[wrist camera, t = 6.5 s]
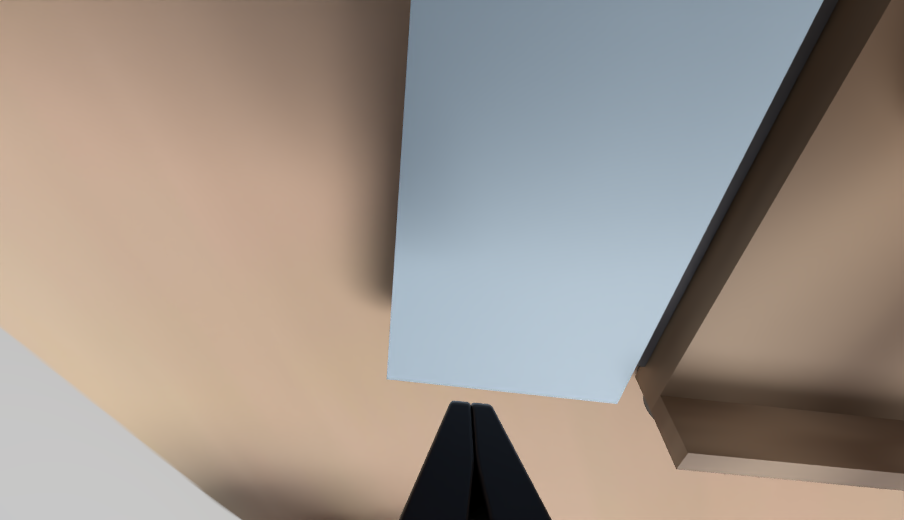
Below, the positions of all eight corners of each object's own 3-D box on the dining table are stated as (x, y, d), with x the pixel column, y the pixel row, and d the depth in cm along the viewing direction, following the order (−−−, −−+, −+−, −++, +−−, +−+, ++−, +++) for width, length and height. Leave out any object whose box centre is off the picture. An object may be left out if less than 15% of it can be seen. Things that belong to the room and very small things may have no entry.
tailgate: (912, -174, 7) (427, -260, 6) (617, 403, 14) (386, 379, 14) (857, -154, 7) (432, -228, 7) (607, 377, 15) (391, 354, 14)
